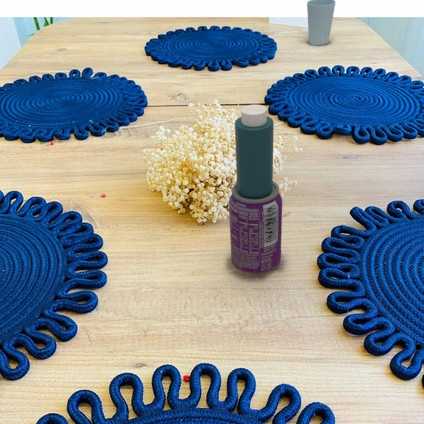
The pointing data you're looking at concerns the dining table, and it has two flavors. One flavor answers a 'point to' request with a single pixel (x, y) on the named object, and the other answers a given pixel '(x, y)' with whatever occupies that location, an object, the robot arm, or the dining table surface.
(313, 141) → the dining table surface
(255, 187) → the bottle
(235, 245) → the beverage can
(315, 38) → the cup
